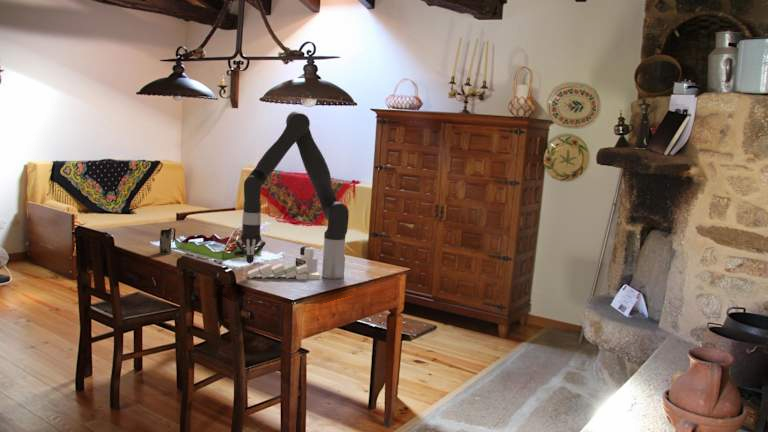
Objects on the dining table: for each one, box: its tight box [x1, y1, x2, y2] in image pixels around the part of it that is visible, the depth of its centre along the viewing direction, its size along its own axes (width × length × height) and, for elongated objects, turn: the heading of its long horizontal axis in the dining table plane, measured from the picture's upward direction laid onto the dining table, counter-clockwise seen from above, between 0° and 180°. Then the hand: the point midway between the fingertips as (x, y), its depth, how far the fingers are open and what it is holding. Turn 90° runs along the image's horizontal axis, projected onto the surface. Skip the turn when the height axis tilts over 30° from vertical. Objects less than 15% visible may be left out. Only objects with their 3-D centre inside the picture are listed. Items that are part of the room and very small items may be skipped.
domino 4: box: [284, 263, 308, 280], centre depth 277 cm, size 2×5×10 cm
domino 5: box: [294, 271, 321, 280], centre depth 278 cm, size 2×5×10 cm
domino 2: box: [260, 262, 285, 279], centre depth 275 cm, size 2×5×10 cm
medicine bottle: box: [295, 246, 319, 272], centre depth 286 cm, size 7×7×12 cm
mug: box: [159, 227, 176, 255], centre depth 309 cm, size 8×6×12 cm
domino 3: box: [273, 262, 297, 279], centre depth 276 cm, size 2×5×10 cm
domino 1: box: [247, 262, 273, 279], centre depth 273 cm, size 2×5×10 cm
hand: (249, 263), depth 272 cm, fingers closed
